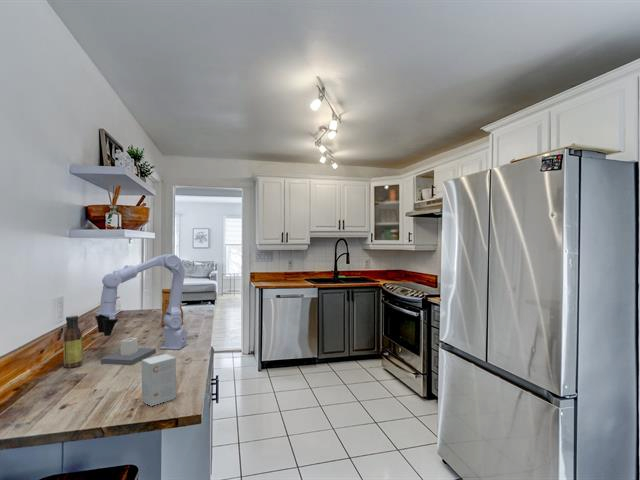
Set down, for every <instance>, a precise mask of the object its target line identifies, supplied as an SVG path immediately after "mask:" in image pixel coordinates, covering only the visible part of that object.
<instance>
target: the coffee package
mask: <svg viewBox="0 0 640 480" xmlns="http://www.w3.org/2000/svg"><path fill="white" fill-rule="evenodd" d="M170 292H171V288H162V289H161V311H162V313H161V321H160V322H161V323H160V325H161V326H164V327H165V324H164V322H163V317H164V316H165V314H166V310H167V308H168V306H169V299H170ZM180 310H181V318H182V324H184V311H183V308H182V303H181V304H180Z"/></svg>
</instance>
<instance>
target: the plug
mask: <svg viewBox="0 0 640 480" xmlns="http://www.w3.org/2000/svg"><path fill="white" fill-rule="evenodd" d="M138 348H139V338H138V337H128V338H125V339H122V340H120V350H121V356H131V355H133V354H135V353H137V352H138Z"/></svg>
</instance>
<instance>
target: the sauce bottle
mask: <svg viewBox="0 0 640 480" xmlns="http://www.w3.org/2000/svg"><path fill="white" fill-rule="evenodd" d="M65 320H66V329H65V331H64V333H63V336H62V338H63V341H62V343H63V345H62V347H63V366H64V368H68V369H69V368H70V369H71V368H76V367H80V366H82V364H83V359H84V358H83V356H84V355H83V334H82V332H81V330H80V327H79V321H78V320H79V316H78V315H75V314H74V315H69V316H66V317H65Z"/></svg>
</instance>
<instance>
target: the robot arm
mask: <svg viewBox="0 0 640 480" xmlns="http://www.w3.org/2000/svg"><path fill="white" fill-rule="evenodd" d="M153 267H164V268H166V269H168V271H170V273H171V274H172V279H171V285H170V287H171V288H170V289H171V292H170V299H169V306H168V308H167V310H166V314H165V316H164V317H163V322H164V324H165V326H164V329H163V330H164V331H163V333H164V334H163V335H164V336H163V339H164V340H163V346H161V347H160V348H159V349H163V350H181V349H182V348H184V347H186V346H188V343H187V337H188V336H187V329H186V328H182V324H183V323H182V318H181V310H180V304H181V305H182V296H183V289H184V288H183V287H184V281H185V274H186V270H185V268H184V265H183V263H182V259H181V258H180V257H179V256H178V255H177V254H174V253H164V254H162V255H158V256H155V257H152V258H150V259H149V260H146V261H144V262H142V263H139V264H137V265H135V266H134V265H127V264H126V265H124V266H123V267H122V268H121V269H118V270H113V271H112V272H113V273H108V274H105V275H104V276H103V277H102V279H101V282H102V284H103V285H102V289H101V295H100V296H101V297H100V303H99V305H100V306H99V310H98V311H96V312H95V314H96V315H95V316H94V318H95V320H96V323H97V331H98V333H99V334H101V333H103V336H104V337H109V336H112V332H113V330H114V327H115V325H116V323H117V322H118V321H119V319H118V318H116V305H117V297H118V288H119V286H120V284H123V283H125V282H128V281H130V280H131V279H135V278H137V276H138V274H139V273H141V272H143V271H146V270H148V269H151V268H153Z"/></svg>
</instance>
